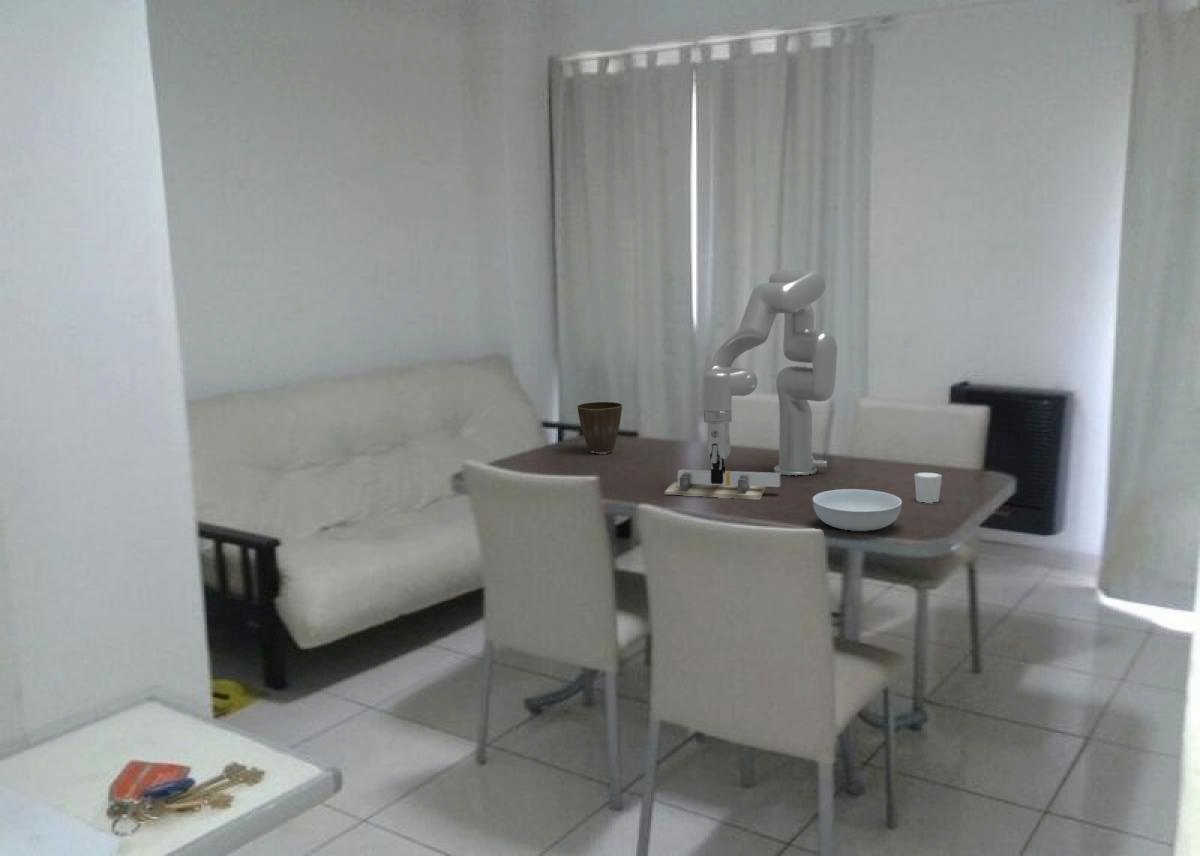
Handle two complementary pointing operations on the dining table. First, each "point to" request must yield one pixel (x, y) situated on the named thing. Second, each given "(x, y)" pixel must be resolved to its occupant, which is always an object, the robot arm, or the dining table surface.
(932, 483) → the white cup
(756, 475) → the white banded bar
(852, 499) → the serving bowl
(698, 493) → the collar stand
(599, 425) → the plant pot
